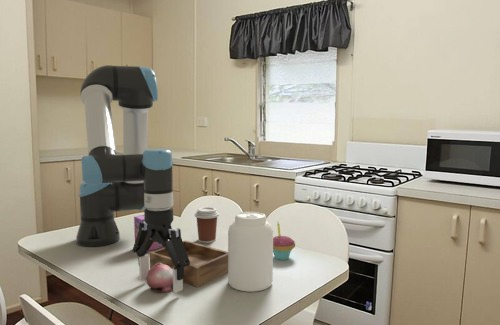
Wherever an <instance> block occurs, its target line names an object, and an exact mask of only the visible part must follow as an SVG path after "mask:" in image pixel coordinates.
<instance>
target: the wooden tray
mask: <svg viewBox="0 0 500 325" xmlns="http://www.w3.org/2000/svg"><path fill="white" fill-rule="evenodd" d="M182 241H183V244H184V247H185V250H186V252H187V255H188V258H189V261H190V265H188V266H186V267H184V279H183V283H186V284H187V285H191V286H194V287H196V288H199V287H201V286H202V285H205V284H207V283H208V282H209V283H210V282H211V281H213V280H215V279H218V278H220V277H221V276H224V275H226V274H228V251H226V250H223V249H219V248H215V247H211V246H207V245H205V244H200V243H196V242H192V241H190V240H182ZM184 262H185V261H184ZM157 263H162V264H165V265H168V266H169V267H170V268H171V269H172V270H173V268H174V267H175V266H174V264H173V262H172V260H171V258H170V256H169V254H168V252H167V250H166V249H165V247H162V248H158V249H157V250H156V249H155V250H152V251H150V252H149V270H150V269H151V268H152V267H153V266H154V265H155V264H157ZM178 263H179V262H178Z"/></svg>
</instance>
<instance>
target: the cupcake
mask: <svg viewBox="0 0 500 325" xmlns="http://www.w3.org/2000/svg"><path fill="white" fill-rule="evenodd" d="M276 224H277V234H278V235H277V236H273V258H275V259H276V260H279V261H280V260H281V261H282V260H288V259H289V258H290V255H291V252H292V251H293V249H294V248H296V242H295V240H293V239H292V238H291V237H289V236H286V235H281V226H280V223H279V222H277V223H276Z"/></svg>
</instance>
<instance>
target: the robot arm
mask: <svg viewBox="0 0 500 325" xmlns="http://www.w3.org/2000/svg"><path fill="white" fill-rule="evenodd" d="M79 93H80V94H79V95H80V100H81V103H82V104H83V105H84V113H85V114H84V115H85V129H86V141H87V143H86V144H87V155H84V156H82V157H81V161H80V162H81V178H82V182H81V183H80V185H79V194H78V197H79V210H80V211H79V213H80V223H79V227H78V230H77V234H76V236H75V237H76V241H75V242H76V244H77V245H79V246H81V247H88V248H89V247H102V246H108V245H112V244H114V243H116V242H118V241H119V240H120V238H121V237H120V231H119V227H118V225H117V223H116V221H115V214H114V213H115V212H127V211H141V210H144V212H143V215H144V219H145V221H144V222H140V223H139V231H138V235H137V238H136V241H135V240H134V244H133V247H132V252H133V253H136V256H137V258H138V261H137V262H138V267H139V268H138V270H139V280H140V281H143V280H145V279H146V280H147V273H148V271H149V270H150V254H148V252H149V251H148V250H149V248H150V247H151V245H152V244H153V242H158V243H160V244H162V246H163V247H162V248H165V249H166V250H167V252H168V254H169V256H170V258H171V260H172V262H173V264H174V266H175V267H174V268H173V287H172V288H173V291H172V292H173V293H174V294H175V293H176V294H177V293H179V292H181V291H183V290H184V282H183V279H184V267H186V266H188V265H190V261H189V258H188V255H187V252H186V250H185V247H184V244H183V241H184V240H183V238H182V232H181V228H179V227H178V228H173V227H172V223H173V221H174V208H173V206H174V189H173V188H174V186H173V185H174V184H173V179H174V178H173V165H174V161H173V156H172V154H173V153H172V151H171V150H170V149H167V148H151V149H148V146H149V145H148V142H149V141H148V138H149V136H148V134H149V111H150V110H151V109H152V108H153V106H154V105H153V104H154V103H155V102H157V101H158V100H159V98H158V97H159V91H158V83H157V78H156V74H155V71H154V70H153V69H152V68H151V67H146V66H145V67H144V66H135V65H132V66H131V65H102V66H99V67H96V68H95V69H93V70H92V71H90V73H88V74H87V76H85V78H84V79H83V82H82V84H81V85H80V92H79ZM112 101H116V102H117V101H118V104H117V105H118V106H119V108H120V109H121V110H122V117H123V118H122V120H123V121H122V128H123V129H122V132H123V133H122V142H123V144H122V146H123V147H122V151H123V152H122V154H117V147H116V138H115V137H116V136H115V131H114V122H113V116H112V115H113V114H112V107H111V103H112ZM153 102H154V103H153ZM138 246H139V247H138ZM184 261H185V262H184ZM178 262H179V263H178Z"/></svg>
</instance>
